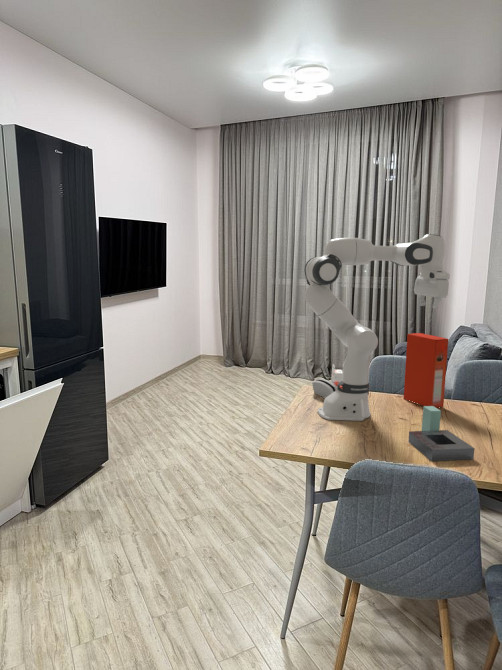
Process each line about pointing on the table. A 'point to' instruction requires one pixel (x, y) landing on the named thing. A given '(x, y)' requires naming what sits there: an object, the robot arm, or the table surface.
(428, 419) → the sage green box
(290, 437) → the table surface
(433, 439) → the collar block
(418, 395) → the file binder
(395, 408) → the table surface
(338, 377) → the ink cartridge box
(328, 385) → the grey napkin holder
